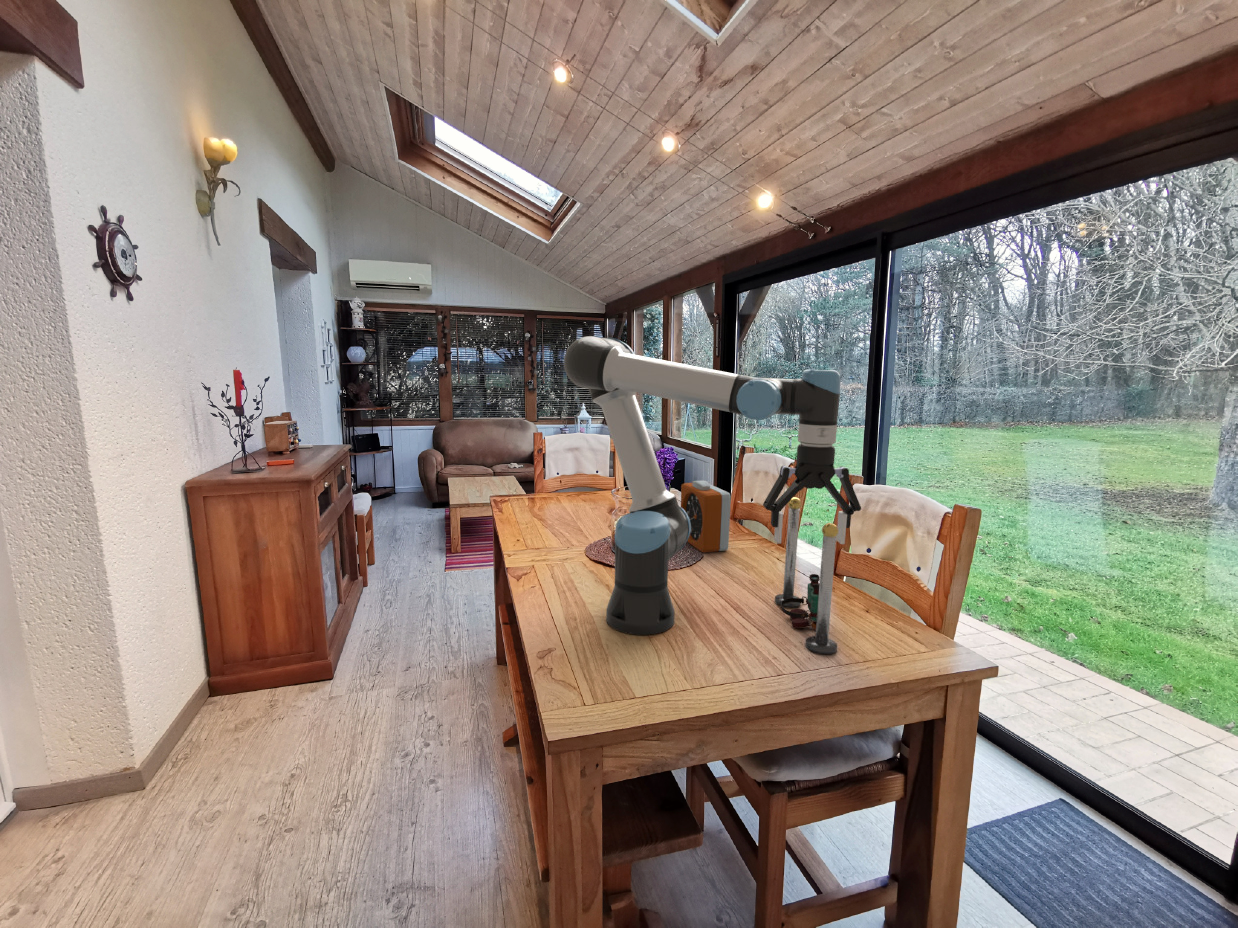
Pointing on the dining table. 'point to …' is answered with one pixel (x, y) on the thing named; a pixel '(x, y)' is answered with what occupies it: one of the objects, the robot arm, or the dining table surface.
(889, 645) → the dining table surface
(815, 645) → the post near
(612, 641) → the dining table surface
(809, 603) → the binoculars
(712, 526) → the alarm clock
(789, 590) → the post far
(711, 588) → the dining table surface
